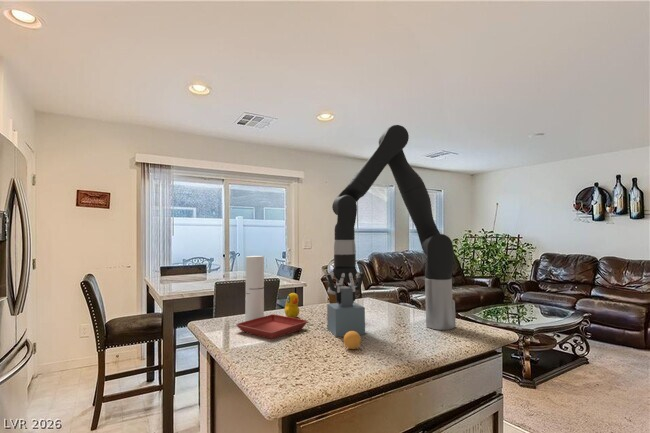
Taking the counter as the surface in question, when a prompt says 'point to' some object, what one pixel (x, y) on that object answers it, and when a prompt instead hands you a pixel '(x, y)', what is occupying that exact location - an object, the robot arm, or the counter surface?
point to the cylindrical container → (254, 287)
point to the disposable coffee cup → (332, 295)
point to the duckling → (292, 305)
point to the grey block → (345, 315)
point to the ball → (352, 340)
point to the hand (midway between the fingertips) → (345, 302)
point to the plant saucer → (272, 326)
